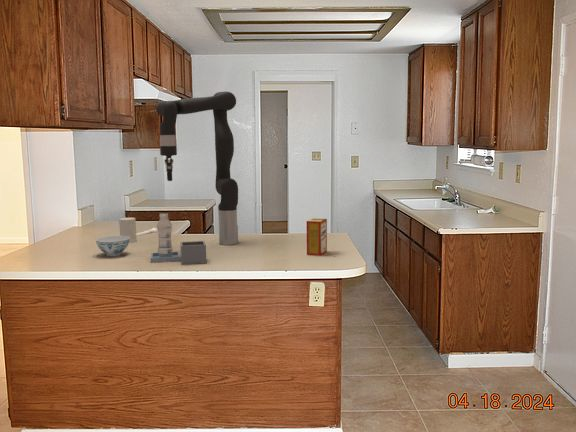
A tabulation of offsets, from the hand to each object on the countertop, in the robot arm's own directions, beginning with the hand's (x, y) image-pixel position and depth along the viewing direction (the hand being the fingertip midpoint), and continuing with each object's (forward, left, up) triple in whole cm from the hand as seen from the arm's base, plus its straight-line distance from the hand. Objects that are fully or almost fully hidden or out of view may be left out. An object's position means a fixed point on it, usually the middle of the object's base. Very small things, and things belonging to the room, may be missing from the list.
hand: (169, 180), depth 273 cm
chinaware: (+27, -1, -34) cm, 44 cm away
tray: (+4, +15, -34) cm, 37 cm away
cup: (+22, -34, -34) cm, 53 cm away
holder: (-8, +23, -34) cm, 42 cm away
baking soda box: (-65, +21, -34) cm, 76 cm away
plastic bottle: (+3, +15, -34) cm, 37 cm away
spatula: (+16, -50, -35) cm, 63 cm away
